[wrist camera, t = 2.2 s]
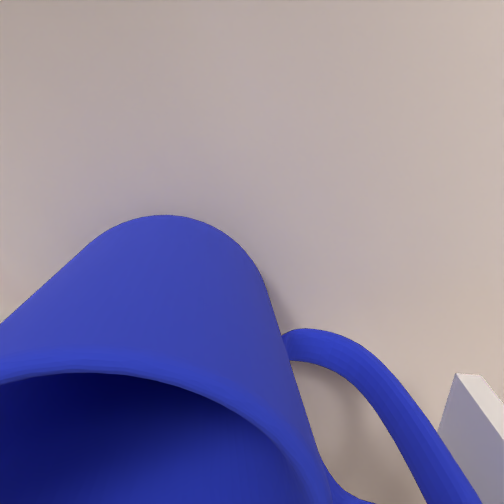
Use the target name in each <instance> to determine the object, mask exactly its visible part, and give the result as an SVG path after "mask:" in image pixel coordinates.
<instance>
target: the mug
mask: <svg viewBox="0 0 504 504" xmlns="http://www.w3.org/2000/svg"><path fill="white" fill-rule="evenodd" d="M290 360H292V361H303V362H309V363H313V364H317V365H320V366H323V367H325V368H328V369H330V370H332V371H334V372H336V373H338V374H339V375H341V376H342V377H344V378H346V379H347V380H348V381H349V382H350V383H352V384H353V385H354V386H355V387H356V388H357V389H358V390H359V391H360V392H361V393H362V394H363V395H364V397H365V398H366V399H367V400H368V402H369V403H370V404H371V406H372V407H373V408H374V410H375V411H376V412H377V414H378V415H379V417H380V419H381V420H382V422H383V423H384V425H385V427H386V428H387V430H388V432H389V433H390V435H391V437H392V438H393V440H394V441H395V443H396V445H397V447H398V449H399V451H400V452H401V454H402V456H403V458H404V460H405V462H406V464H407V465H408V467H409V469H410V471H411V473H412V475H413V477H414V479H415V481H416V483H417V485H418V487H419V489H420V491H421V493H422V494H423V496H424V498H425V500H426V502H427V504H482V502H481V500H480V498H479V496H478V495H477V493H476V492H475V490H474V489H473V487H472V485H471V484H470V482H469V481H468V479H467V478H466V476H465V475H464V473H463V472H462V470H461V469H460V467H459V465H458V464H457V462H456V461H455V459H454V458H453V456H452V455H451V453H450V452H449V450H448V449H447V447H446V445H445V444H444V442H443V441H442V439H441V438H440V436H439V435H438V433H437V432H436V430H435V429H434V428H433V426H432V425H431V423H430V422H429V420H428V419H427V417H426V416H425V415H424V413H423V412H422V410H421V409H420V408H419V406H418V405H417V404H416V403H415V401H414V400H413V399H412V397H411V396H410V395H409V393H408V392H407V391H406V389H405V388H404V387H403V386H402V384H401V383H400V382H399V381H398V379H397V378H396V377H395V376H394V375H393V374H392V373H391V372H390V371H389V370H388V368H387V367H386V366H385V365H384V364H383V363H382V362H381V361H380V360H379V359H377V358H376V357H375V356H374V355H373V354H372V353H371V352H369V351H368V350H367V349H365V348H364V347H363V346H361V345H360V344H358V343H356V342H354V341H352V340H350V339H348V338H346V337H343V336H341V335H338V334H335V333H332V332H328V331H323V330H317V329H306V328H305V329H295V330H292V331H289V332H287V333H285V334H283V335H282V336H281V333H280V330H279V327H278V324H277V321H276V318H275V315H274V311H273V308H272V305H271V302H270V299H269V296H268V293H267V290H266V287H265V284H264V282H263V279H262V277H261V275H260V273H259V271H258V269H257V267H256V266H255V264H254V263H253V261H252V260H251V258H250V257H249V256H248V255H247V253H246V252H245V251H244V250H243V249H242V248H241V247H240V246H239V245H238V244H237V243H236V242H235V241H234V240H233V239H231V238H230V237H229V236H227V235H226V234H225V233H223V232H222V231H220V230H218V229H216V228H215V227H213V226H211V225H208V224H206V223H204V222H201V221H198V220H195V219H191V218H187V217H182V216H173V215H154V216H147V217H141V218H137V219H133V220H130V221H127V222H124V223H122V224H119V225H117V226H115V227H113V228H111V229H109V230H107V231H106V232H104V233H103V234H101V235H99V236H98V237H97V238H96V239H94V240H93V241H92V242H91V243H89V244H88V245H87V246H86V247H85V248H84V249H83V250H82V251H80V252H79V253H78V254H77V255H76V256H75V257H74V258H73V259H72V260H71V261H69V262H68V263H67V264H66V265H65V266H64V267H63V268H62V269H61V270H59V271H58V272H57V273H56V274H55V275H54V276H53V277H52V278H51V279H50V280H48V281H47V282H46V283H45V284H44V285H43V286H42V287H41V288H40V289H39V290H37V291H36V292H35V293H34V294H33V295H32V296H31V297H30V298H29V299H28V300H26V301H25V302H24V303H23V304H22V305H21V306H20V307H19V308H18V309H17V310H15V311H14V312H13V313H12V314H11V315H10V316H9V317H8V318H7V319H5V320H4V321H3V322H2V323H1V324H0V504H375V503H371V502H368V501H364V500H361V499H358V498H356V497H355V496H353V495H351V494H350V493H348V492H346V491H345V490H343V489H342V488H341V487H340V486H339V485H338V484H337V483H336V481H335V480H334V479H333V477H332V476H331V474H330V473H329V472H328V470H327V468H326V466H325V465H324V463H323V461H322V459H321V457H320V454H319V452H318V449H317V446H316V443H315V440H314V437H313V434H312V430H311V427H310V424H309V421H308V418H307V415H306V412H305V408H304V405H303V402H302V399H301V396H300V393H299V390H298V387H297V383H296V380H295V377H294V374H293V371H292V368H291V365H290Z"/></svg>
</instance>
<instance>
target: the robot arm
mask: <svg viewBox="0 0 504 504" xmlns="http://www.w3.org/2000/svg"><path fill="white" fill-rule="evenodd" d="M437 433H438V435H439V436H440V438H441V439H442V441H443V442H444V444H445V445H446V447H447V449H448V450H449V452H450V453H451V455H452V456H453V458H454V459H455V461H456V462H457V464H458V465H459V467H460V469H461V470H462V472H463V473H464V475H465V476H466V478H467V479H468V481H469V482H470V484H471V485H472V487H473V489H474V490H475V492H476V493H477V495H478V496H479V498H480V500H481V502H482V504H504V403H503V402H502V401H501V400H500V398H499V397H498V396H497V395H496V393H495V392H494V391H493V389H492V388H491V387H490V386H489V384H488V383H487V382H486V381H485V379H484V378H483V377H482V376H481V375H473V374H460V373H455V376H454V379H453V383H452V386H451V389H450V393H449V396H448V399H447V402H446V406H445V409H444V412H443V416H442V419H441V422H440V425H439V429H438V432H437Z"/></svg>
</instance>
